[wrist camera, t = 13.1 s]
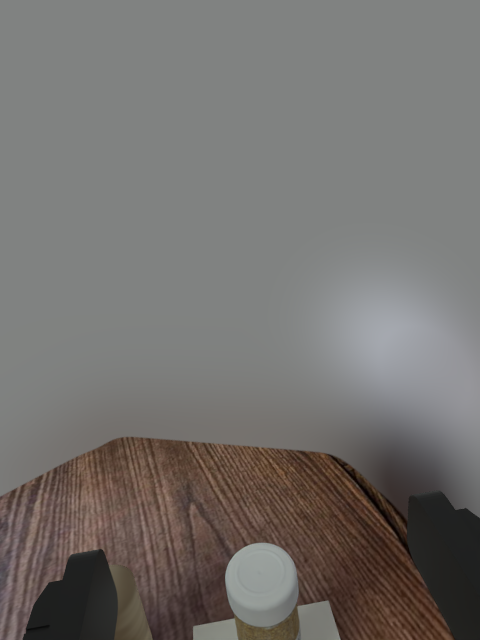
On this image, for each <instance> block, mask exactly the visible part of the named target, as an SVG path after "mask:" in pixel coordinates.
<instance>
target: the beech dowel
mask: <svg viewBox="0 0 480 640" xmlns="http://www.w3.org/2000/svg"><path fill="white" fill-rule="evenodd" d="M109 568H110V571H111V574H112V577H113V580H114V583H115V586H116V590H117V597H118V615H117V623H116V630H115V637H114V640H153V638H152V634H151V631H150V628H149V625H148V621H147V618H146V615H145V612H144V608H143V605H142V602H141V599H140V595H139V592H138V589H137V586H136V582H135V579H134V576H133V574H132V572H131V571H130V570H129V569H128V568H127V567H125V566H122V565H110V566H109Z"/></svg>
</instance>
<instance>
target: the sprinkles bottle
mask: <svg viewBox="0 0 480 640" xmlns="http://www.w3.org/2000/svg"><path fill="white" fill-rule="evenodd" d="M225 583H226V590H227V596H228V601H229V604H230V606H231V609H232V610H233V612H234V618H235V624H236V628H237V639H238V640H301V629H300V620H299V615H298V608H297V599H298V593H299V589H298V578H297V572H296V567H295V564H294V562H293V560H292V559H291V557H290V556H289V554H288V553H287V552H286V551H284V550H283V549H282V548H280V547H278V546H276V545H273V544H269V543H255V544H251V545H248V546H246V547H244V548H242V549H241V550H239V551H238V552H237V553H236V554H235V555H234V556H233V557H232V559H231V560H230V562H229V564H228V566H227V569H226V574H225Z"/></svg>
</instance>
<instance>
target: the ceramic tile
mask: <svg viewBox="0 0 480 640" xmlns="http://www.w3.org/2000/svg"><path fill="white" fill-rule="evenodd" d="M297 608H298V615H299V620H300V629H301V640H340V636H339V633H338V630H337V627H336V623H335V620H334V617H333V614H332V611H331V607H330V604H329V601H323V602H317V603H312V604H307V605H302V606H297ZM193 640H238V639H237V628H236V624H235V618H234V619H229V620H224V621H219V622H213V623H208V624H203V625H198V626H193Z"/></svg>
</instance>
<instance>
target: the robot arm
mask: <svg viewBox="0 0 480 640" xmlns="http://www.w3.org/2000/svg"><path fill="white" fill-rule="evenodd" d="M407 541H408V546H409V550H410V553H411V556H412V558H413V561H414V563H415V565H416V566H417V568H418V570H419V572H420V574H421V576H422V578H423V580H424V581H425V583H426V585H427V587H428V589H429V591H430V593H431V595H432V596H433V598H434V600H435V602H436V604H437V606H438V608H439V609H440V611H441V613H442V615H443V617H444V619H445V621H446V623H447V624H448V626H449V628H450V630H451V632H452V634H453V636H454V638H455V639H456V640H480V518H479V517H477V516H476V515H474V514H473V513H472V512H470V511H469V510H468V509H466V508H465V509H459V510H455V509H454V507H453V506H452V505H451V503H450V502H449V500H448V499H447V498H446V496H445V495H444V494H443V493H442V492H441V491H432V492H427V493H421V494H415V495H411V496H410V497H409V506H408V524H407ZM117 615H118V597H117V590H116V586H115V583H114V580H113V577H112V574H111V571H110V568H109V565H108V562H107V559H106V556H105V553H104V551H103V550H102V549H99V550H93V551H88V552H82V553H76V554H72V555H71V556H70V557H69V559H68V562H67V565H66V569H65V573H64V576H63V580H60V581H55V582H49V583H48V585H47V586H46V588H45V589H44V591H43V592H42V594H41V595H40V596H39V598H38V599H37V601H36V602H35V604H34V606H33V609H32V612H31V615H30V618H29V621H28V624H27V628H26V634H24V637H23V640H114V637H115V630H116V623H117Z"/></svg>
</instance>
